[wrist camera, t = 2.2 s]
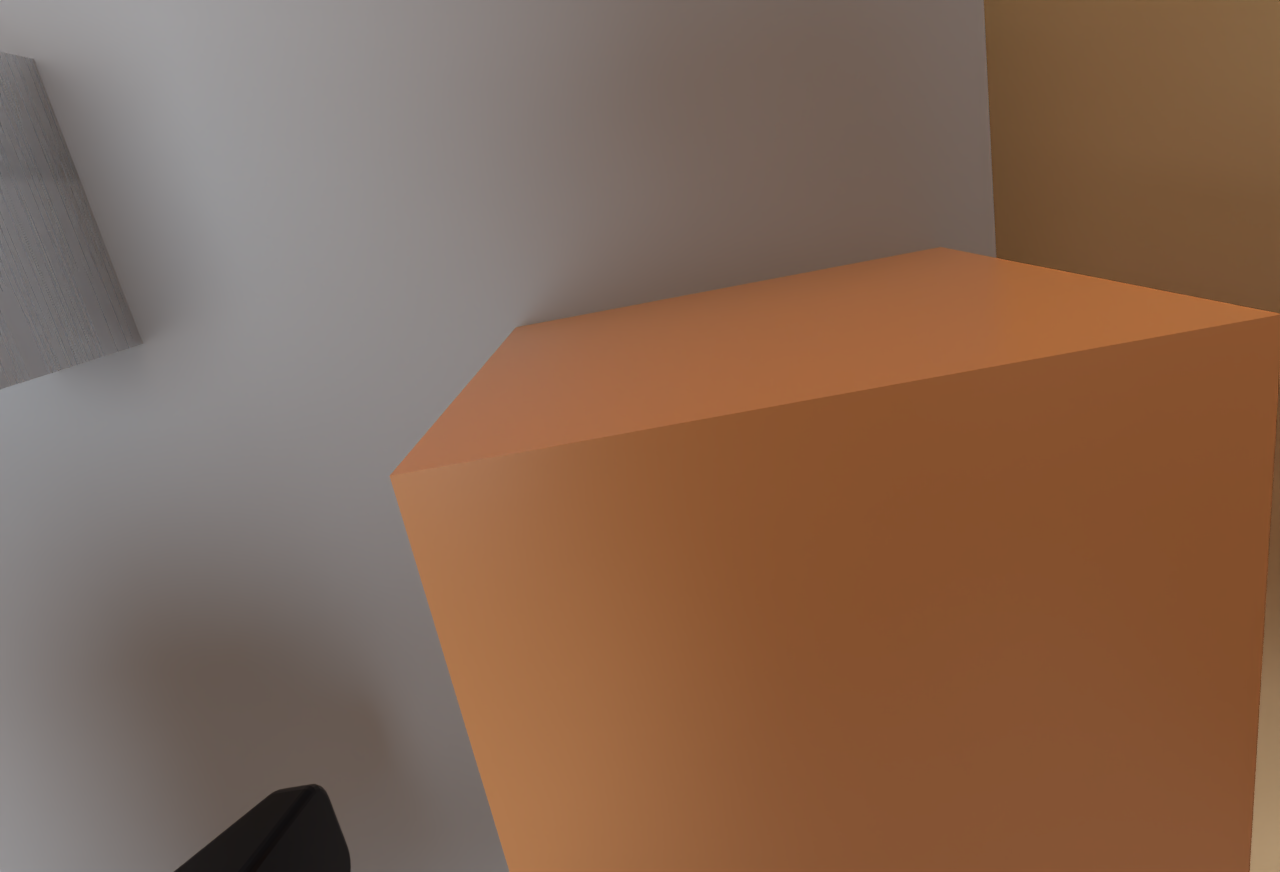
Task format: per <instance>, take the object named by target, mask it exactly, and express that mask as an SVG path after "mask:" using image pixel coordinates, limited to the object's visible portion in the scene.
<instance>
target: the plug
mask: <svg viewBox="0 0 1280 872" xmlns="http://www.w3.org/2000/svg"><path fill="white" fill-rule="evenodd" d="M1279 372H1280V313H1275V312H1270V311H1265V310H1260V309H1255V308H1250V307H1244V306H1239V305H1234V304H1229V303H1224V302H1219V301H1214V300H1209V299H1204V298H1199V297H1193V296H1188V295H1183V294H1178V293H1173V292H1168V291H1163V290H1158V289H1153V288H1148V287H1142V286H1137V285H1132V284H1127V283H1122V282H1117V281H1112V280H1107V279H1102V278H1097V277H1091V276H1086V275H1081V274H1076V273H1071V272H1066V271H1061V270H1056V269H1051V268H1046V267H1040V266H1035V265H1030V264H1025V263H1020V262H1015V261H1010V260H1005V259H1000V258H995V257H989V256H984V255H979V254H974V253H969V252H964V251H959V250H954V249H949V248H944V247H938V248H932V249H927V250H922V251H916V252H911V253H906V254H901V255H895V256H890V257H885V258H880V259H874V260H869V261H864V262H858V263H853V264H848V265H843V266H837V267H832V268H827V269H821V270H816V271H811V272H806V273H800V274H795V275H790V276H784V277H779V278H774V279H769V280H763V281H758V282H753V283H747V284H742V285H737V286H732V287H726V288H721V289H716V290H710V291H705V292H700V293H695V294H689V295H684V296H679V297H674V298H668V299H663V300H658V301H652V302H647V303H642V304H637V305H631V306H626V307H621V308H615V309H610V310H605V311H600V312H594V313H589V314H584V315H578V316H573V317H568V318H563V319H557V320H552V321H547V322H541V323H536V324H531V325H526V326H520V327H516V328H515V329H514V330H513V331H512V332H511V334H510V335H509V336H508V337H507V338H506V339H505V341H504V342H503V343H502V344H501V345H500V347H499V348H498V349H497V350H496V351H495V352H494V354H493V355H492V356H491V357H490V358H489V359H488V361H487V362H486V363H485V364H484V365H483V366H482V368H481V369H480V370H479V371H478V372H477V374H476V375H475V376H474V377H473V378H472V379H471V381H470V382H469V383H468V384H467V385H466V386H465V388H464V389H463V390H462V391H461V392H460V394H459V395H458V396H457V397H456V398H455V399H454V401H453V402H452V403H451V404H450V405H449V406H448V408H447V409H446V410H445V411H444V412H443V414H442V415H441V416H440V417H439V418H438V419H437V421H436V422H435V423H434V424H433V425H432V426H431V428H430V429H429V430H428V431H427V432H426V433H425V435H424V436H423V437H422V438H421V439H420V441H419V442H418V443H417V444H416V445H415V446H414V448H413V449H412V450H411V451H410V452H409V453H408V455H407V456H406V457H405V458H404V459H403V461H402V462H401V463H400V464H399V465H398V466H397V468H396V469H395V470H394V471H393V472H392V473H391V475H390V479H391V483H392V486H393V489H394V493H395V496H396V499H397V502H398V506H399V509H400V512H401V516H402V519H403V522H404V526H405V529H406V532H407V535H408V539H409V542H410V545H411V549H412V552H413V555H414V559H415V562H416V565H417V568H418V572H419V575H420V578H421V582H422V585H423V588H424V591H425V595H426V598H427V601H428V605H429V608H430V611H431V615H432V618H433V621H434V624H435V628H436V631H437V634H438V638H439V641H440V644H441V648H442V651H443V654H444V657H445V661H446V664H447V667H448V671H449V674H450V677H451V681H452V684H453V687H454V690H455V694H456V697H457V700H458V704H459V707H460V710H461V714H462V717H463V720H464V723H465V727H466V730H467V733H468V737H469V740H470V743H471V747H472V750H473V753H474V756H475V760H476V763H477V766H478V770H479V773H480V776H481V779H482V783H483V786H484V789H485V793H486V796H487V799H488V803H489V806H490V809H491V812H492V816H493V819H494V822H495V826H496V829H497V832H498V836H499V839H500V842H501V845H502V849H503V852H504V855H505V859H506V862H507V865H508V869H509V872H1249V871H1250V855H1251V838H1252V821H1253V805H1254V788H1255V771H1256V755H1257V738H1258V722H1259V705H1260V688H1261V672H1262V655H1263V638H1264V622H1265V605H1266V588H1267V572H1268V555H1269V539H1270V522H1271V505H1272V489H1273V472H1274V455H1275V439H1276V422H1277V406H1278V389H1279Z"/></svg>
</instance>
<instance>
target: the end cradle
mask: <svg viewBox="0 0 1280 872" xmlns="http://www.w3.org/2000/svg"><path fill="white" fill-rule="evenodd" d="M141 344H143V342H142V340H141V337H140V334H139V332H138V329H137V326H136V324H135V321H134V319H133V316H132V313H131V311H130V308H129V306H128V303H127V300H126V298H125V295H124V293H123V290H122V287H121V285H120V282H119V280H118V277H117V274H116V272H115V269H114V267H113V264H112V261H111V259H110V256H109V253H108V251H107V248H106V246H105V243H104V240H103V238H102V235H101V233H100V230H99V227H98V225H97V222H96V220H95V217H94V214H93V212H92V209H91V207H90V204H89V201H88V199H87V196H86V194H85V191H84V188H83V186H82V183H81V180H80V178H79V175H78V173H77V170H76V167H75V165H74V162H73V160H72V157H71V154H70V152H69V149H68V147H67V144H66V141H65V139H64V136H63V134H62V131H61V128H60V126H59V123H58V121H57V118H56V115H55V113H54V110H53V107H52V105H51V102H50V100H49V97H48V94H47V92H46V89H45V87H44V84H43V81H42V79H41V76H40V74H39V71H38V68H37V66H36V63H35V61H34V59H32V58H27V57H23V56H18V55H13V54H8V53H4V52H0V389H3V388H7V387H10V386H13V385H16V384H19V383H22V382H25V381H29V380H32V379H35V378H38V377H41V376H44V375H47V374H51V373H54V372H57V371H60V370H63V369H66V368H69V367H72V366H76V365H79V364H82V363H85V362H88V361H91V360H94V359H98V358H101V357H104V356H107V355H110V354H113V353H116V352H120V351H123V350H126V349H129V348H132V347H135V346H138V345H141Z"/></svg>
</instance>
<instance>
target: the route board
mask: <svg viewBox="0 0 1280 872" xmlns="http://www.w3.org/2000/svg"><path fill="white" fill-rule="evenodd" d="M0 52H4V53H8V54H13V55H18V56H23V57H27V58H32V59H34V61H35V63H36V66H37V68H38V71H39V74H40V76H41V79H42V81H43V84H44V87H45V89H46V92H47V94H48V97H49V100H50V102H51V105H52V107H53V110H54V113H55V115H56V118H57V121H58V123H59V126H60V128H61V131H62V134H63V136H64V139H65V141H66V144H67V147H68V149H69V152H70V154H71V157H72V160H73V162H74V165H75V167H76V170H77V173H78V175H79V178H80V180H81V183H82V186H83V188H84V191H85V194H86V196H87V199H88V201H89V204H90V207H91V209H92V212H93V214H94V217H95V220H96V222H97V225H98V227H99V230H100V233H101V235H102V238H103V240H104V243H105V246H106V248H107V251H108V253H109V256H110V259H111V261H112V264H113V267H114V269H115V272H116V274H117V277H118V280H119V282H120V285H121V287H122V290H123V293H124V295H125V298H126V300H127V303H128V306H129V308H130V311H131V313H132V316H133V319H134V321H135V324H136V326H137V329H138V332H139V334H140V337H141V340H142V342H143V344H141V345H138V346H135V347H132V348H129V349H126V350H123V351H120V352H116V353H113V354H110V355H107V356H104V357H101V358H98V359H94V360H91V361H88V362H85V363H82V364H79V365H76V366H72V367H69V368H66V369H63V370H60V371H57V372H54V373H51V374H47V375H44V376H41V377H38V378H35V379H32V380H29V381H25V382H22V383H19V384H16V385H13V386H10V387H7V388H3V389H0V872H174V871H175V870H176V869H177V868H179V867H180V866H181V865H182V864H184V863H185V862H186V861H187V860H189V859H190V858H191V857H192V856H194V855H195V854H196V853H197V852H199V851H200V850H201V849H202V848H204V847H205V846H206V845H207V844H209V843H210V842H211V841H212V840H214V839H215V838H216V837H217V836H219V835H220V834H221V833H222V832H223V831H225V830H226V829H227V828H228V827H230V826H231V825H232V824H233V823H235V822H236V821H237V820H238V819H240V818H241V817H242V816H243V815H245V814H246V813H247V812H248V811H250V810H251V809H252V808H253V807H255V806H256V805H257V804H258V803H260V802H261V801H262V800H263V799H265V798H266V797H267V796H268V795H270V794H271V793H272V792H274V791H276V790H279V789H283V788H289V787H295V786H301V785H307V784H317V785H320V786H322V787H323V788H324V789H325V790H326V792H327V794H328V796H329V798H330V801H331V803H332V806H333V809H334V811H335V814H336V817H337V819H338V822H339V825H340V827H341V830H342V833H343V835H344V838H345V840H346V843H347V846H348V849H349V853H350V859H351V872H509V869H508V865H507V862H506V859H505V855H504V852H503V849H502V845H501V842H500V839H499V836H498V832H497V829H496V826H495V822H494V819H493V816H492V812H491V809H490V806H489V803H488V799H487V796H486V793H485V789H484V786H483V783H482V779H481V776H480V773H479V770H478V766H477V763H476V760H475V756H474V753H473V750H472V747H471V743H470V740H469V737H468V733H467V730H466V727H465V723H464V720H463V717H462V714H461V710H460V707H459V704H458V700H457V697H456V694H455V690H454V687H453V684H452V681H451V677H450V674H449V671H448V667H447V664H446V661H445V657H444V654H443V651H442V648H441V644H440V641H439V638H438V634H437V631H436V628H435V624H434V621H433V618H432V615H431V611H430V608H429V605H428V601H427V598H426V595H425V591H424V588H423V585H422V582H421V578H420V575H419V572H418V568H417V565H416V562H415V559H414V555H413V552H412V549H411V545H410V542H409V539H408V535H407V532H406V529H405V526H404V522H403V519H402V516H401V512H400V509H399V506H398V502H397V499H396V496H395V493H394V489H393V486H392V483H391V479H390V475H391V473H392V472H393V471H394V470H395V469H396V468H397V466H398V465H399V464H400V463H401V462H402V461H403V459H404V458H405V457H406V456H407V455H408V453H409V452H410V451H411V450H412V449H413V448H414V446H415V445H416V444H417V443H418V442H419V441H420V439H421V438H422V437H423V436H424V435H425V433H426V432H427V431H428V430H429V429H430V428H431V426H432V425H433V424H434V423H435V422H436V421H437V419H438V418H439V417H440V416H441V415H442V414H443V412H444V411H445V410H446V409H447V408H448V406H449V405H450V404H451V403H452V402H453V401H454V399H455V398H456V397H457V396H458V395H459V394H460V392H461V391H462V390H463V389H464V388H465V386H466V385H467V384H468V383H469V382H470V381H471V379H472V378H473V377H474V376H475V375H476V374H477V372H478V371H479V370H480V369H481V368H482V366H483V365H484V364H485V363H486V362H487V361H488V359H489V358H490V357H491V356H492V355H493V354H494V352H495V351H496V350H497V349H498V348H499V347H500V345H501V344H502V343H503V342H504V341H505V339H506V338H507V337H508V336H509V335H510V334H511V332H512V331H513V330H514V329H515V328H516V327H520V326H526V325H531V324H536V323H541V322H547V321H552V320H557V319H563V318H568V317H573V316H578V315H584V314H589V313H594V312H600V311H605V310H610V309H615V308H621V307H626V306H631V305H637V304H642V303H647V302H652V301H658V300H663V299H668V298H674V297H679V296H684V295H689V294H695V293H700V292H705V291H710V290H716V289H721V288H726V287H732V286H737V285H742V284H747V283H753V282H758V281H763V280H769V279H774V278H779V277H784V276H790V275H795V274H800V273H806V272H811V271H816V270H821V269H827V268H832V267H837V266H843V265H848V264H853V263H858V262H864V261H869V260H874V259H880V258H885V257H890V256H895V255H901V254H906V253H911V252H916V251H922V250H927V249H932V248H938V247H944V248H949V249H954V250H959V251H964V252H969V253H974V254H979V255H984V256H989V257H995V258H996V238H995V218H994V197H993V177H992V157H991V137H990V116H989V96H988V76H987V55H986V35H985V15H984V0H0Z"/></svg>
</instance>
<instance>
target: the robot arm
mask: <svg viewBox="0 0 1280 872" xmlns="http://www.w3.org/2000/svg"><path fill="white" fill-rule="evenodd" d="M174 872H351V859H350V853H349V849H348V846H347V843H346V840H345V838H344V835H343V833H342V830H341V827H340V825H339V822H338V819H337V817H336V814H335V811H334V809H333V806H332V803H331V801H330V798H329V796H328V794H327V792H326V790H325V789H324V788H323V787H322V786H320V785H317V784H307V785H301V786H295V787H289V788H283V789H279V790H276V791H274V792H272V793H271V794H270V795H268V796H267V797H266V798H265V799H263V800H262V801H261V802H260V803H258V804H257V805H256V806H255V807H253V808H252V809H251V810H250V811H248V812H247V813H246V814H245V815H243V816H242V817H241V818H240V819H238V820H237V821H236V822H235V823H233V824H232V825H231V826H230V827H228V828H227V829H226V830H225V831H223V832H222V833H221V834H220V835H219V836H217V837H216V838H215V839H214V840H212V841H211V842H210V843H209V844H207V845H206V846H205V847H204V848H202V849H201V850H200V851H199V852H197V853H196V854H195V855H194V856H192V857H191V858H190V859H189V860H187V861H186V862H185V863H184V864H182V865H181V866H180V867H179V868H177V869H176V870H175V871H174Z"/></svg>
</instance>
